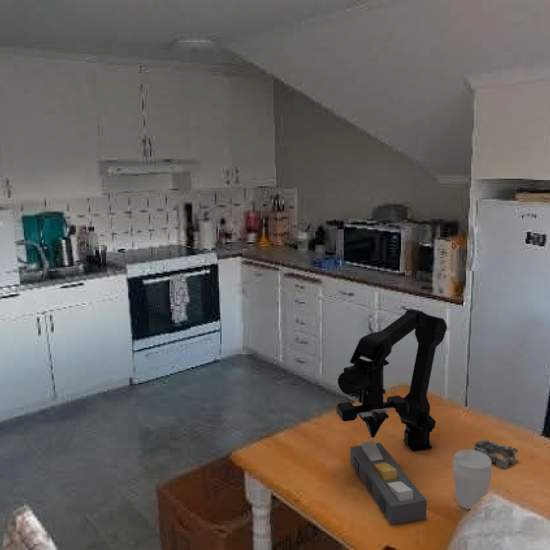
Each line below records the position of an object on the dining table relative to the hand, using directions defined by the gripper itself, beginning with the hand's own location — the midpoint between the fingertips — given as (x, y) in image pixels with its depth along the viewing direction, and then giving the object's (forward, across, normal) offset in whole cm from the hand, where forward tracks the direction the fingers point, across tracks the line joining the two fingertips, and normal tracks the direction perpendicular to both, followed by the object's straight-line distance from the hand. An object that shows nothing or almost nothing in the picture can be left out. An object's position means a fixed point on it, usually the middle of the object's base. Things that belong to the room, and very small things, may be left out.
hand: (372, 436), depth 153 cm
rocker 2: (+6, 0, +9) cm, 11 cm away
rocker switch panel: (+10, 0, +9) cm, 13 cm away
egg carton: (+10, -35, +3) cm, 37 cm away
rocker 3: (+6, 0, +18) cm, 19 cm away
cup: (+10, -18, +20) cm, 29 cm away
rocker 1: (+6, 0, 0) cm, 6 cm away
